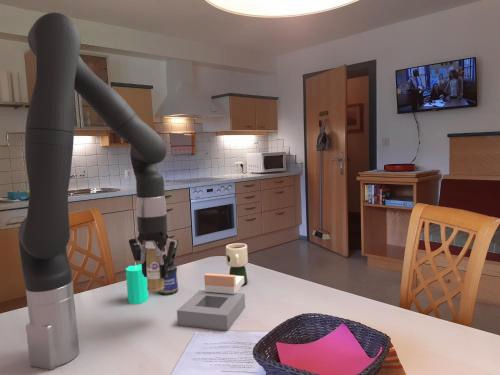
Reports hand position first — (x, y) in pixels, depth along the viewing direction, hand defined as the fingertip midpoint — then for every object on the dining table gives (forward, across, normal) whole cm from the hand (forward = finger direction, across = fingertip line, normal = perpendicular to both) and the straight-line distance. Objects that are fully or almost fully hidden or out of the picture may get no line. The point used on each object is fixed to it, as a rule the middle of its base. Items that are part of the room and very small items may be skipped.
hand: (155, 276), depth 101 cm
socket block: (+12, -13, -6) cm, 19 cm away
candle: (+13, +14, -12) cm, 22 cm away
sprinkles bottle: (+4, 0, 0) cm, 4 cm away
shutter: (+8, -13, -16) cm, 22 cm away
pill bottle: (+12, +8, -20) cm, 24 cm away
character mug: (+12, -12, -30) cm, 35 cm away
